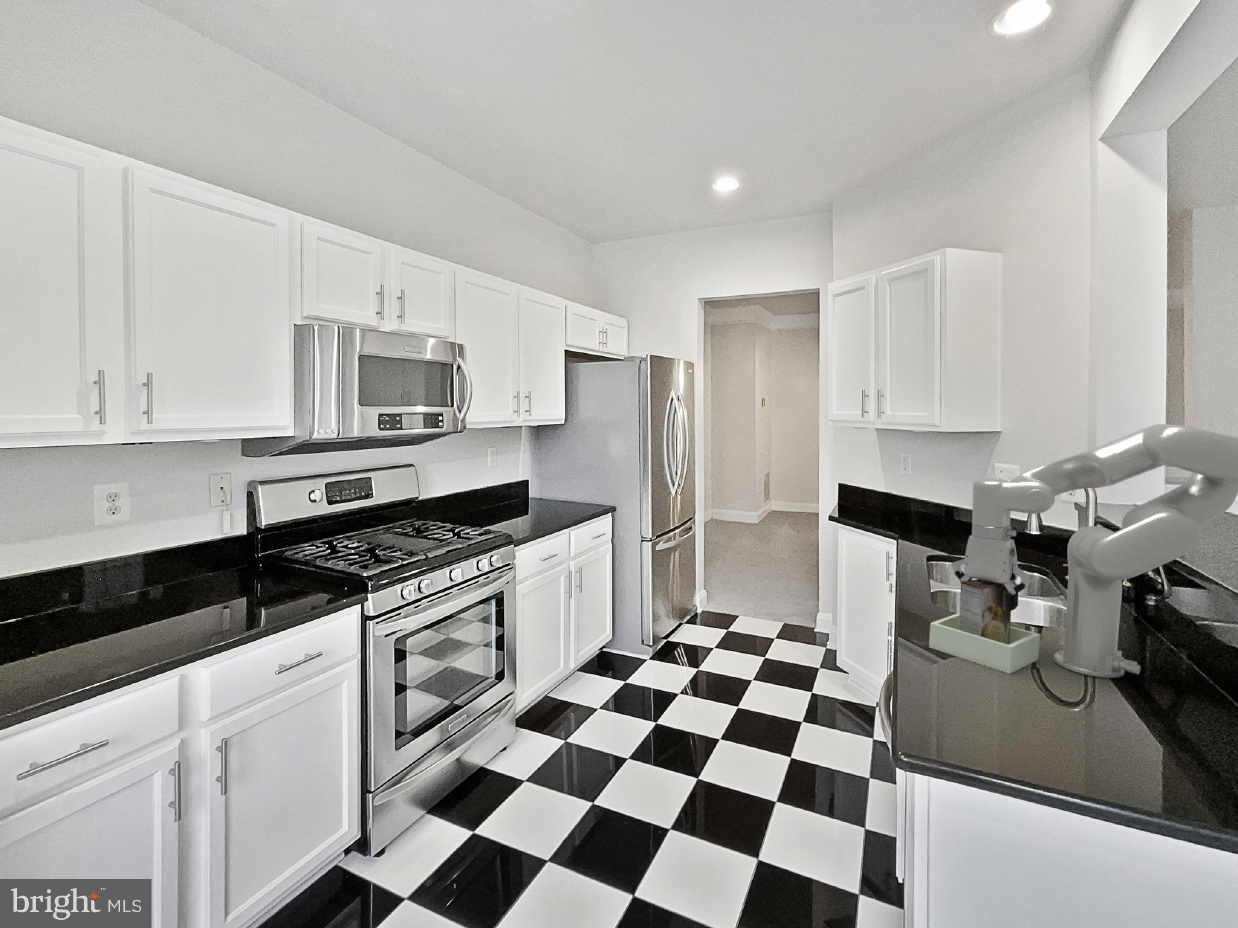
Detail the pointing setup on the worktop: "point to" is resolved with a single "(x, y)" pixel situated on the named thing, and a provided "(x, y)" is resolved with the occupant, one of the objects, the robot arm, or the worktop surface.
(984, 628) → the coffee box
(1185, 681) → the worktop surface
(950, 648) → the bin
